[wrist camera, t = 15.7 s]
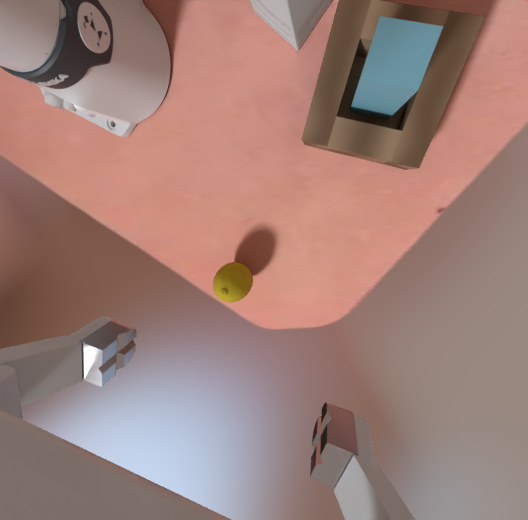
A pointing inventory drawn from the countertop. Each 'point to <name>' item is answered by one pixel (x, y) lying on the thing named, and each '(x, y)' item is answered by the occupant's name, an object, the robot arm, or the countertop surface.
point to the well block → (349, 72)
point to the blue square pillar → (394, 66)
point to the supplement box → (291, 17)
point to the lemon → (232, 282)
